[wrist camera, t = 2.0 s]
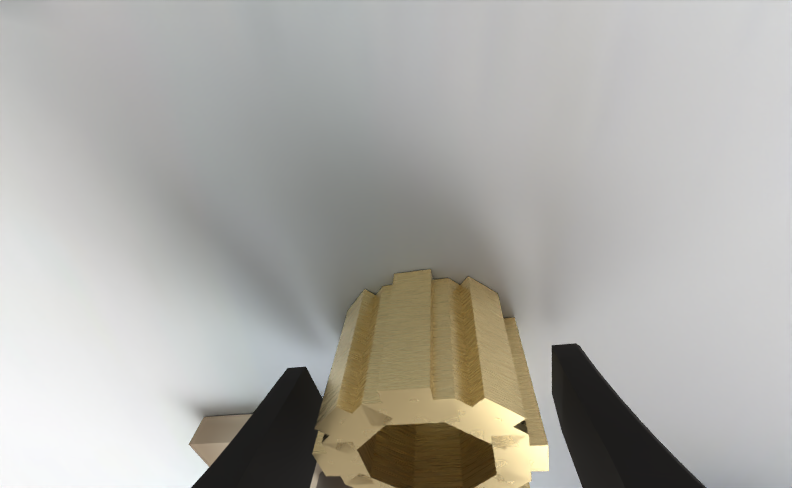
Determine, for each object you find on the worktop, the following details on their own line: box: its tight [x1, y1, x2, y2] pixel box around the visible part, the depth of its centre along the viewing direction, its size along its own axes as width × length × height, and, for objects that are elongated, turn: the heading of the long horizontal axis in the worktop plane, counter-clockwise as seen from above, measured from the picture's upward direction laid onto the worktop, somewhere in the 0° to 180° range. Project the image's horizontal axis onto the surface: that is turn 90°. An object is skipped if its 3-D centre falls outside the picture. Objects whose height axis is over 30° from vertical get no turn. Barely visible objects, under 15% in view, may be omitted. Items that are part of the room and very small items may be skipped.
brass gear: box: [312, 269, 549, 488], centre depth 11 cm, size 6×6×4 cm
